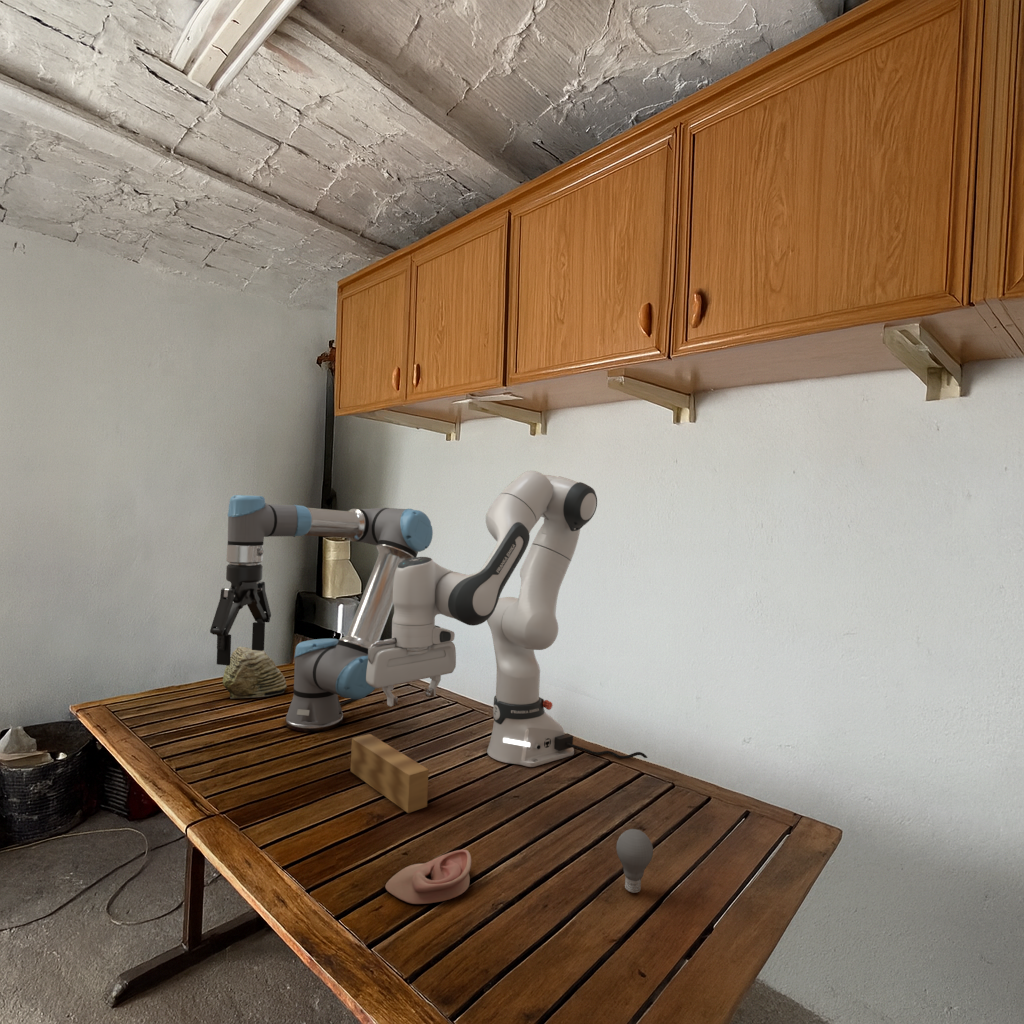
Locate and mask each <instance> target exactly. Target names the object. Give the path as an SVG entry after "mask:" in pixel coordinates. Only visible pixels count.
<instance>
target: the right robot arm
mask: <svg viewBox="0 0 1024 1024" xmlns="http://www.w3.org/2000/svg"><path fill="white" fill-rule="evenodd" d="M597 507H598V496H597V494H596V491H595V489H594V488H593V487H591V486H590V485H588V484H587V483H585V482H581V481H577V480H573V479H570V478H567V477H565V476H556V475H551V474H544V473H542V472H539V471H537V470H527V471H524V472H522V473H521V474H520V475H519V476H517V477H515V478H514V479H513V480H512V481H511V482H510V483H509V484H508V485H507V486H506V487H504V489H503V490H502V491H501V492H500V493H499V495H497V496H496V498H495V499H494V500H493V501H492V503H491V504H490V506H489V508H488V509H487V510H486V513H485V524H486V528H487V531H488V532H489V534H490V535H491V537H492V538H493V539H494V540H495V541H496V544H495V547H494V548H493V549H492V551H491V553H490V554H489V556H488V558H487V559H486V561H485V562H484V564H483V565H482V567H481V568H480V569H479V570H478V571H476V572H474V573H471V574H466V573H461V572H458V571H453V570H452V569H447V568H446V567H443V566H442V565H440V564H438V563H437V562H435V561H434V560H433V558H431V557H428V556H417V557H413V558H409V559H405V560H403V561H402V562H400V563H399V564H398V566H397V568H396V571H395V575H394V583H393V608H394V609H393V615H392V620H391V638H387V639H383V640H381V639H379V640H378V641H375V643H374V644H372V645H371V646H370V647H369V649H368V664H367V671H366V682H367V683H368V684H369V685H370V686H372V687H374V688H375V689H382V691H383V693H384V695H385V696H386V705H387V706H388V707H390V708H392V707H395V706H398V705H399V704H398V703H399V702H398V701H399V700H398V698H399V697H398V696H396V695H394V694H393V692H392V691H394V686H396V685H400V684H406V683H411V682H415V681H419V680H425V679H430V682H429V685H428V687H427V686H426V687H425V694H424V695H425V697H427V698H428V699H429V698H434V697H436V694H437V688H438V686H439V684H440V682H441V680H442V679H441V678H442V676H444V675H449V674H453V673H454V671H455V669H456V666H457V651H456V644H455V643H454V642H453V641H454V640H455V638H456V637H455V635H456V634H455V632H454V631H453V630H450V629H448V628H444V627H441V626H439V625H436V616H437V615H442V616H445V617H448V618H451V619H455V620H456V621H459V622H461V623H463V624H465V625H467V626H480V625H482V624H484V623H485V622H486V623H487V624H488V627H489V629H490V632H491V637H492V644H493V650H494V655H495V665H496V681H495V682H496V683H495V695H494V697H493V708H492V717H493V719H492V720H493V724H492V730H491V736H490V738H489V743H488V746H487V749H486V753H487V755H488V756H489V757H490V758H491V759H493V760H495V761H498V762H501V763H505V764H511V765H519V766H523V767H527V768H535V767H539V766H541V765H544V764H545V765H546V764H548V763H552V762H555V761H558V760H561V759H565V758H568V757H572V756H574V755H575V749H576V750H578V751H579V750H580V751H582V752H584V753H585V752H586V753H588V754H590V755H593V756H603V755H611V756H613V757H615V758H616V759H620V760H627V759H631V758H633V757H636V756H641V757H643V758H644V759H648V755H646V754H645V753H643V752H641V751H636V752H632V753H630V754H628V755H620V754H618V753H616V752H614V751H611V750H603V751H593V750H590V749H588V748H586V747H582V746H580V745H576V744H574V735H572V734H570V733H568V732H567V733H565V730H564V727H563V726H562V725H561V724H560V723H559V722H558V721H557V720H555V719H554V718H553V717H552V716H551V715H550V714H548V713H547V712H546V711H545V709H546V710H547V711H550V710H551V709H552V708H553V706H554V705H553V702H552V701H549V700H548V699H544V698H542V697H541V696H540V683H541V668H540V664H539V662H538V661H537V658H536V654H535V651H542V650H543V651H544V650H546V649H548V648H550V647H551V646H552V645H553V644H554V643H555V641H556V640H557V638H558V635H559V622H558V619H557V605H558V597H559V594H560V589H561V586H562V584H563V581H564V579H565V576H566V574H567V572H568V569H569V567H570V564H571V562H572V559H573V557H574V555H575V552H576V549H577V545H578V543H579V542H578V541H579V538H580V534H581V529H582V528H583V527H584V526H586V525H587V524H588V523H589V522H590V521H591V519H592V518H593V517H594V515H595V514H596V510H597ZM541 518H543V523H542V525H541V526H540V528H539V530H538V531H537V533H536V535H535V537H534V539H533V541H532V543H531V545H530V548H529V550H528V552H527V554H526V557H525V559H524V561H523V563H522V565H521V568H520V570H519V576H520V590H519V595H518V597H515V596H504V597H501V594H502V592H503V590H504V588H505V586H506V585H507V583H508V581H509V579H510V578H511V576H512V574H513V572H514V571H515V569H516V568H517V566H518V564H519V563H520V561H521V560H522V557H523V556H524V554H525V552H526V550H527V548H528V545H529V543H530V535H531V534H530V533H531V532H532V530H533V529H534V527H535V525H536V524H537V523H538V521H539V520H540V519H541ZM374 645H375V646H374ZM373 646H374V647H373Z"/></svg>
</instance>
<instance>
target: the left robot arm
mask: <svg viewBox="0 0 1024 1024" xmlns="http://www.w3.org/2000/svg"><path fill="white" fill-rule="evenodd" d="M433 534H434V533H433V525H432V522H431V520H430V518H429V516H428V515H427V514H426V513H424V512H423V511H421V510H418V509H413V508H394V507H373V508H355V507H354V508H351V509H349V510H338V509H328V508H315V507H306V506H305V505H298V504H277V503H266V498H265V497H264V496H262V495H245V494H244V495H243V494H234V495H232V496H231V497H230V499H229V504H228V511H227V544H226V562H227V563H228V564H227V565H226V569H225V570H226V572H225V579H226V581H227V582H230V587H229V588H227V587H222V588H221V590H220V597H219V598H220V599H219V601H218V604H217V607H216V610H215V614H214V616H213V619H212V623H211V627H210V629H209V632H210V634H212V635H213V636H215V635H216V665H217V666H219V665H220V666H226V665H230V657H231V655H232V634H230V631H231V629H232V627H233V626H234V623H235V621H236V619H237V617H238V614H239V612H240V610H242V609H243V608H244V607H246V606H247V607H248V609H249V612H250V613H251V615H252V617H253V619H254V621H253V622H252V631H251V632H252V633H251V634H252V635H251V649H252V650H257V651H263V650H264V651H265V636H266V635H265V634H266V623H270V622H271V617H272V611H271V608H270V603H269V599H268V597H267V592H266V582H265V581H262V580H263V564H261V563H262V562H263V559H264V558H263V557H264V552H265V551H264V540H265V538H270V537H293V538H295V537H302V536H306V537H307V536H309V537H326V538H328V537H329V538H345V539H347V540H348V541H350V542H356V543H364V544H368V545H373V546H375V547H376V549H377V552H378V555H377V558H376V561H375V563H374V566H373V569H372V570H371V573H370V576H369V578H368V581H367V583H366V586H365V589H364V590H363V593H362V596H361V599H360V601H359V604H358V607H357V608H356V611H355V614H354V617H353V618H352V621H351V624H350V626H349V629H348V632H347V634H346V635H345V636H342V637H340V638H339V639H337V638H317V639H316V638H315V639H308V640H304V641H300V642H299V643H298V644H297V645H296V646H295V650H294V651H295V652H294V655H293V658H294V672H293V673H294V674H293V695H292V696H293V697H292V699H291V702H290V704H289V708H288V711H287V713H286V715H285V726H286V728H287V729H289V730H291V731H294V732H295V731H296V732H301V733H316V732H325V731H329V730H332V729H335V728H337V727H339V726H340V725H342V723H343V722H344V713H343V709H342V706H343V705H346V704H348V703H351V702H353V701H355V700H362V699H365V698H366V697H367V696H369V695H371V694H372V693H373V692H374V691H375V690H376V688H374V687H372V686H370V685H369V684H368V683H367V682H366V671H367V664H368V649H369V647H370V646H371V645H372V644H374V643H375V641H378V640H381V637H382V634H383V632H384V629H385V626H386V624H387V621H388V618H389V615H390V613H391V610H392V608H393V606H394V604H393V583H394V575H395V571H396V568H397V566H398V564H399V563H400V562H402V561H403V560H405V559H409V558H413V557H418V554H419V553H420V552H423V551H425V550H426V549H428V548H429V546H430V545H431V543H432V541H433ZM374 646H375V645H374ZM374 646H373V647H374ZM339 696H340V697H341V698H345V699H348V700H345V701H342V702H340V699H339Z"/></svg>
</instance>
